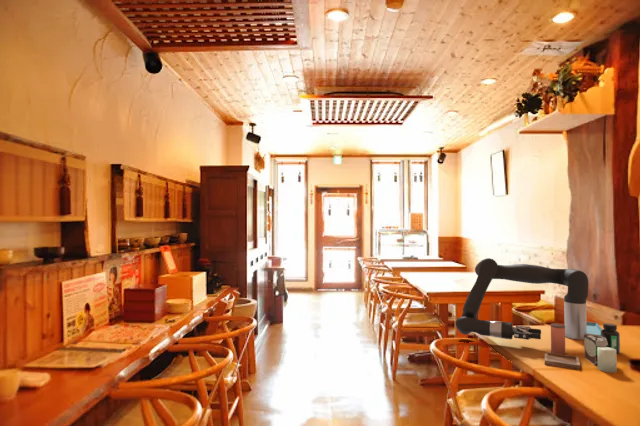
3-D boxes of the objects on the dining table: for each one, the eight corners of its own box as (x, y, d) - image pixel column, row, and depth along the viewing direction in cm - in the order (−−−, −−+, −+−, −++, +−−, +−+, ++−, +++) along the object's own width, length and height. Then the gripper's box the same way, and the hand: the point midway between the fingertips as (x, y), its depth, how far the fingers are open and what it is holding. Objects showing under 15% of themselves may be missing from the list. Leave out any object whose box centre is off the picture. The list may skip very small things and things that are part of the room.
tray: (544, 355, 174) (544, 352, 174) (578, 360, 168) (578, 356, 168) (544, 364, 163) (544, 360, 163) (580, 369, 157) (580, 365, 157)
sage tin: (596, 366, 161) (596, 345, 162) (615, 368, 158) (615, 348, 159) (598, 371, 156) (598, 349, 156) (617, 373, 153) (617, 352, 153)
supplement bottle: (618, 355, 174) (618, 327, 174) (599, 352, 179) (599, 324, 179) (621, 351, 179) (620, 324, 179) (602, 348, 184) (601, 321, 184)
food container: (614, 367, 159) (614, 342, 160) (596, 366, 161) (596, 341, 161) (599, 357, 172) (599, 333, 172) (583, 356, 173) (583, 332, 173)
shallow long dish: (609, 340, 198) (609, 335, 198) (586, 338, 202) (586, 332, 202) (596, 327, 222) (596, 322, 222) (577, 325, 226) (577, 321, 226)
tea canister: (550, 349, 182) (550, 322, 182) (565, 351, 179) (564, 324, 179) (550, 353, 177) (550, 325, 177) (565, 355, 174) (565, 327, 175)
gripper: (499, 325, 183) (540, 329, 175) (502, 318, 196) (541, 322, 188) (499, 341, 183) (540, 347, 175) (502, 334, 196) (541, 338, 188)
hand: (540, 334), depth 182 cm, fingers open, 8 cm apart
